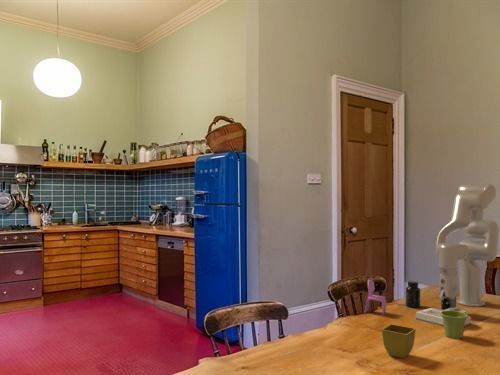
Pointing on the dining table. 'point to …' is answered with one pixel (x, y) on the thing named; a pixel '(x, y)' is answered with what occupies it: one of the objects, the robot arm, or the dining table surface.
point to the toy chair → (374, 297)
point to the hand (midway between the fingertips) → (448, 311)
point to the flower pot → (398, 340)
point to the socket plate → (435, 316)
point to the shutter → (455, 310)
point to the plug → (451, 302)
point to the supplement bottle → (413, 295)
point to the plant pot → (453, 323)
